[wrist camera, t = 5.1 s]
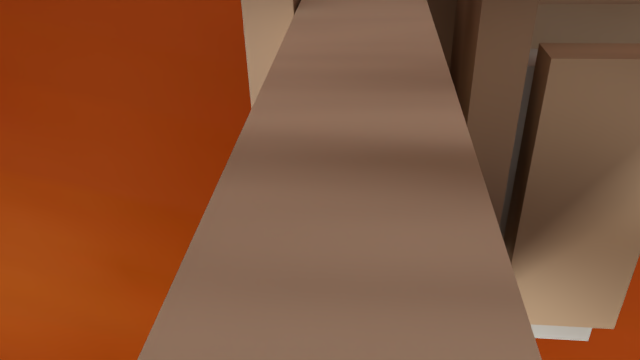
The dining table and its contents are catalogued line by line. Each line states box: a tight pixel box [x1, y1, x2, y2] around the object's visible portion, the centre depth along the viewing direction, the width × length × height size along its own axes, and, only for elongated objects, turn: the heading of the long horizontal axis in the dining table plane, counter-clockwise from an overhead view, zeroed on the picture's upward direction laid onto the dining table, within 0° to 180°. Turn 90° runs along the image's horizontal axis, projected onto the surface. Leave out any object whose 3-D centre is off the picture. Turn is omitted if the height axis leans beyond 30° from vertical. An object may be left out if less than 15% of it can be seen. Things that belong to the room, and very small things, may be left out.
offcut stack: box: [499, 0, 640, 341], centre depth 14 cm, size 9×3×3 cm, turn 1°
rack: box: [241, 0, 539, 227], centre depth 15 cm, size 12×10×4 cm
